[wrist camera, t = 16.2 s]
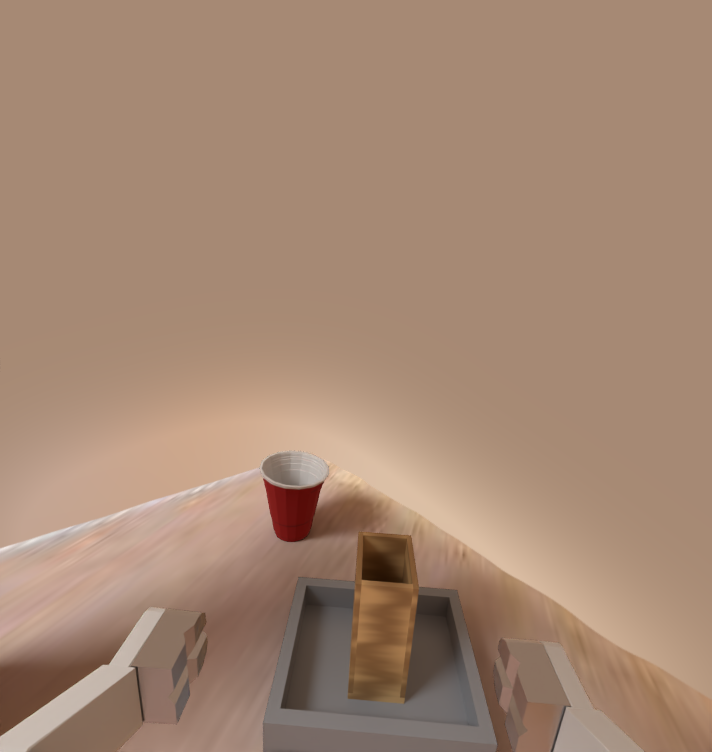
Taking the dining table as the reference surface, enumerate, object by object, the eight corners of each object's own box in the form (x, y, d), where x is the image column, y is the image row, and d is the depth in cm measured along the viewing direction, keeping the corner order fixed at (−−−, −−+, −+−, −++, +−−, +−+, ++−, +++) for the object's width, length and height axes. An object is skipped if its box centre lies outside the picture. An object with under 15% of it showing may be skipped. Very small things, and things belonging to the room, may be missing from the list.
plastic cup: (320, 558, 56) (322, 487, 53) (250, 549, 57) (248, 479, 54) (331, 513, 67) (334, 452, 64) (272, 506, 68) (272, 446, 64)
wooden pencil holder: (347, 698, 37) (355, 584, 33) (351, 633, 44) (358, 531, 40) (404, 703, 37) (419, 589, 33) (399, 637, 44) (411, 535, 40)
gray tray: (263, 754, 33) (262, 722, 32) (298, 602, 49) (298, 576, 48) (490, 776, 33) (497, 744, 32) (452, 615, 48) (456, 590, 47)
